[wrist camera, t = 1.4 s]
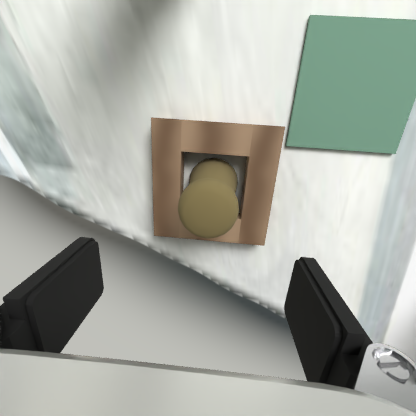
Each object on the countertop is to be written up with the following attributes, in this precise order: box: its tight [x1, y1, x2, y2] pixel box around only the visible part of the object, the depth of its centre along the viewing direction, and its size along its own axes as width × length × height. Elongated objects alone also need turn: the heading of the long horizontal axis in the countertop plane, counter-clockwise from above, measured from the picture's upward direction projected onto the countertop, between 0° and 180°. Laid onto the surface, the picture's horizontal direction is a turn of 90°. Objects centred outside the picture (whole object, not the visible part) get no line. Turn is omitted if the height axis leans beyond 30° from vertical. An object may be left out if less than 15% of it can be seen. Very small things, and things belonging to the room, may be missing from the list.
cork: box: [178, 158, 239, 238], centre depth 23 cm, size 6×6×11 cm
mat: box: [286, 15, 416, 154], centre depth 23 cm, size 12×12×1 cm
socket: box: [151, 118, 285, 246], centre depth 27 cm, size 14×14×2 cm
